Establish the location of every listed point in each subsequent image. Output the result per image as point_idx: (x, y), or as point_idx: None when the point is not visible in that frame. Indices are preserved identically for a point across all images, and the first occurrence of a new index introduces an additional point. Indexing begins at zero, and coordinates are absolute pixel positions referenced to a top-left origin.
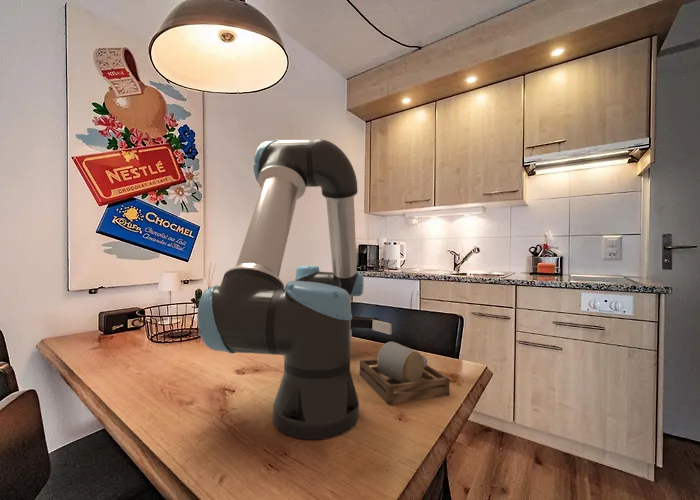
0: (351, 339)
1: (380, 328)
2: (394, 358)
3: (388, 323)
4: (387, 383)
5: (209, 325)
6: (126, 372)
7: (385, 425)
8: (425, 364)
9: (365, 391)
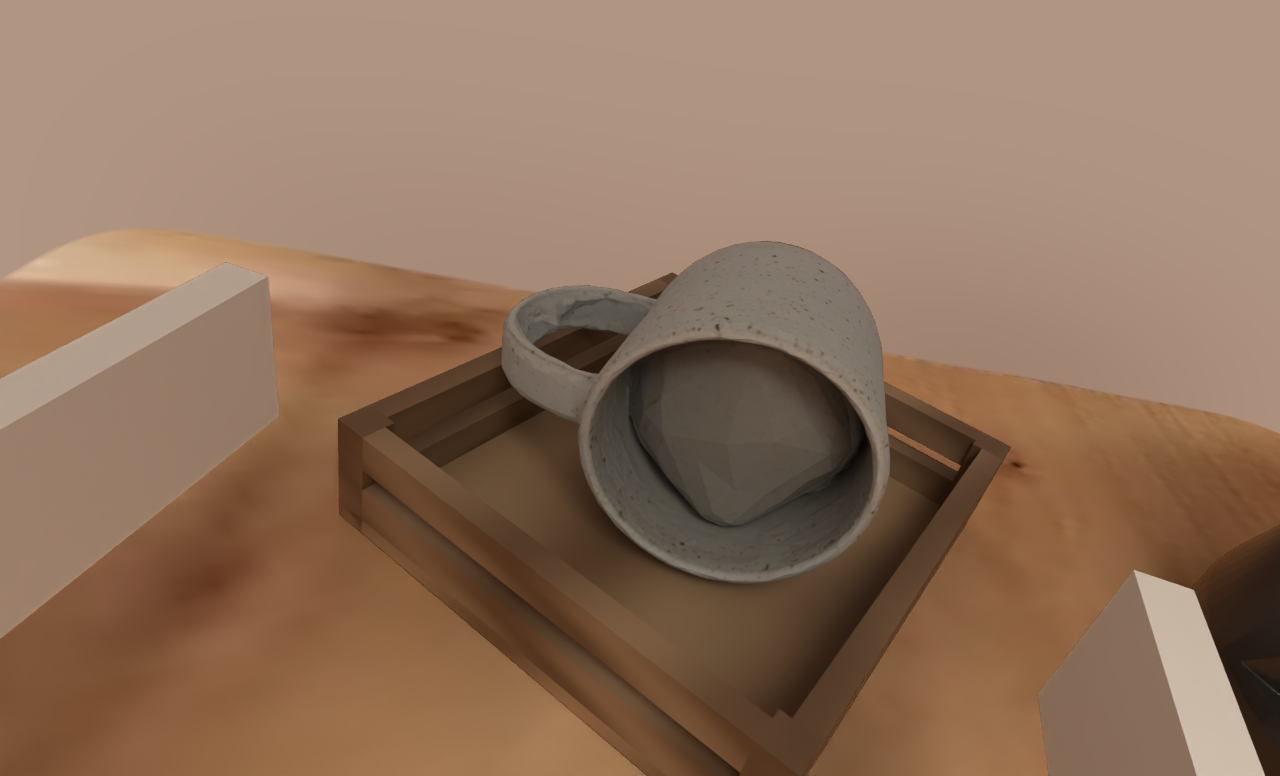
0: (1060, 670)
1: (109, 491)
2: (881, 359)
3: (212, 288)
4: (986, 457)
5: None
6: None
7: (1106, 496)
8: (617, 313)
9: (963, 674)
